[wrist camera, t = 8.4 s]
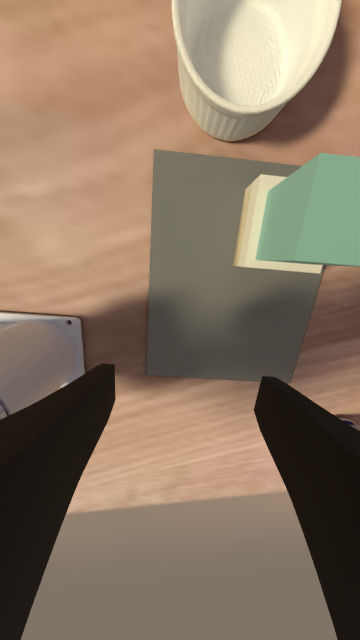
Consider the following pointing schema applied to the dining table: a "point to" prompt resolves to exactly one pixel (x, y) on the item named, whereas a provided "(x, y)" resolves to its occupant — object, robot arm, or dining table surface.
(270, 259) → the block
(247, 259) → the tower top
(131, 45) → the dining table surface
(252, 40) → the ramekin
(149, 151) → the dining table surface
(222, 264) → the mat
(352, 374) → the dining table surface
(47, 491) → the robot arm
